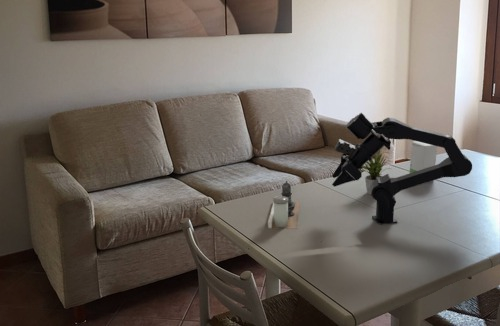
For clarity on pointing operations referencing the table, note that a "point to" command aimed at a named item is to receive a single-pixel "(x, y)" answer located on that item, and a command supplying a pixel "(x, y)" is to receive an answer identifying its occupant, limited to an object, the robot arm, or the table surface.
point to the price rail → (271, 217)
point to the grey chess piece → (287, 193)
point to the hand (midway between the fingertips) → (332, 181)
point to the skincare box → (422, 156)
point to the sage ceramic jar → (280, 211)
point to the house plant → (373, 171)
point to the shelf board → (291, 218)
